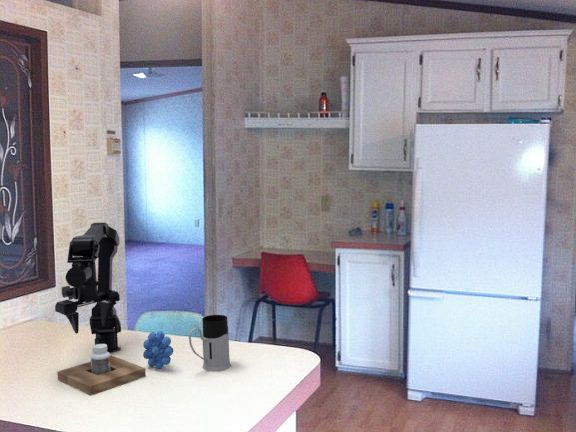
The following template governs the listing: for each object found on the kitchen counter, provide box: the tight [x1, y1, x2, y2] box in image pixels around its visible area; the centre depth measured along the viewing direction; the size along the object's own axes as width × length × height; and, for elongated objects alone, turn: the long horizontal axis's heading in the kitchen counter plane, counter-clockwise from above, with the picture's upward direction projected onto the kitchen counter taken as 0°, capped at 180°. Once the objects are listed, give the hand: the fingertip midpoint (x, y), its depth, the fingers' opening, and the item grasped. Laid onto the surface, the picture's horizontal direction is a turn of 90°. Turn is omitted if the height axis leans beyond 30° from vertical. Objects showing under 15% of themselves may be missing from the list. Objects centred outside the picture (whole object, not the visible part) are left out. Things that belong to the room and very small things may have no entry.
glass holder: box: [188, 314, 232, 372], centre depth 196 cm, size 9×14×15 cm, turn 137°
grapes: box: [142, 330, 174, 370], centre depth 198 cm, size 12×7×12 cm, turn 58°
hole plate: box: [56, 354, 147, 396], centre depth 192 cm, size 18×18×2 cm
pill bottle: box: [90, 344, 111, 376], centre depth 191 cm, size 5×5×10 cm
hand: (90, 329), depth 198 cm, fingers open, 9 cm apart
